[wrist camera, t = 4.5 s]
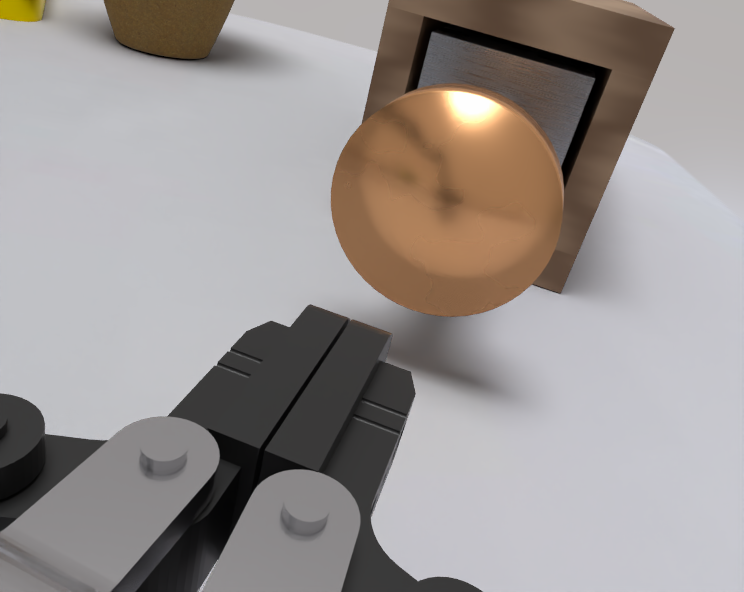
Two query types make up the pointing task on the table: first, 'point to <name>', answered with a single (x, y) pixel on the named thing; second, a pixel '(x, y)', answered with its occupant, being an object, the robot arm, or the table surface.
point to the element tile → (22, 10)
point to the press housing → (557, 35)
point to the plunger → (462, 175)
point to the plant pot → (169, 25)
